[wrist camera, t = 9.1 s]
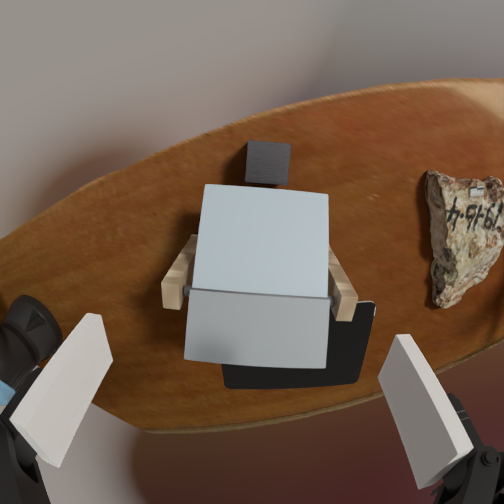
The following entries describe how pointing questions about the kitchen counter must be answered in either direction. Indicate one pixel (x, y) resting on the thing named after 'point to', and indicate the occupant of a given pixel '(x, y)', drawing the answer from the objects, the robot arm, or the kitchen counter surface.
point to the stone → (463, 232)
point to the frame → (184, 273)
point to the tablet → (336, 372)
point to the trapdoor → (260, 279)
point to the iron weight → (267, 162)
